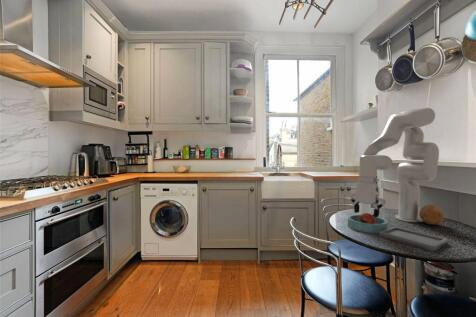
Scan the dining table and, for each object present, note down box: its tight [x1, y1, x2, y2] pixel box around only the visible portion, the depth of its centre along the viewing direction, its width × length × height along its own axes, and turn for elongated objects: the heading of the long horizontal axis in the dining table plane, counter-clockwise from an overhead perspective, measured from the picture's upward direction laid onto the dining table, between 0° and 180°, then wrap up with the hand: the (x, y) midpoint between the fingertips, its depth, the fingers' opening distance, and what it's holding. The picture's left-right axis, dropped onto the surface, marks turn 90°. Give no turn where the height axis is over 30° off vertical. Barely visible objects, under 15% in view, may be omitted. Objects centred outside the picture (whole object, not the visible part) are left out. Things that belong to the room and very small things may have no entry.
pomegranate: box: [360, 213, 376, 224], centre depth 122 cm, size 7×7×10 cm
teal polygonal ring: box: [347, 214, 388, 234], centre depth 122 cm, size 17×17×4 cm
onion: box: [419, 204, 444, 225], centre depth 126 cm, size 10×10×10 cm
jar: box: [354, 202, 372, 215], centre depth 143 cm, size 9×8×12 cm
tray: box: [378, 226, 449, 253], centre depth 104 cm, size 14×20×2 cm
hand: (366, 214), depth 121 cm, fingers open, 9 cm apart
